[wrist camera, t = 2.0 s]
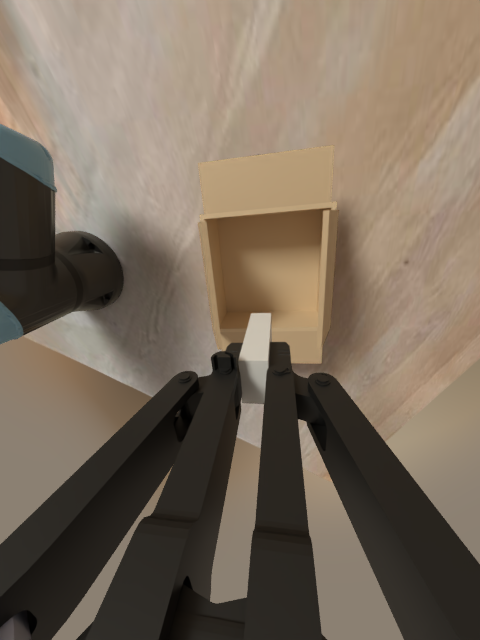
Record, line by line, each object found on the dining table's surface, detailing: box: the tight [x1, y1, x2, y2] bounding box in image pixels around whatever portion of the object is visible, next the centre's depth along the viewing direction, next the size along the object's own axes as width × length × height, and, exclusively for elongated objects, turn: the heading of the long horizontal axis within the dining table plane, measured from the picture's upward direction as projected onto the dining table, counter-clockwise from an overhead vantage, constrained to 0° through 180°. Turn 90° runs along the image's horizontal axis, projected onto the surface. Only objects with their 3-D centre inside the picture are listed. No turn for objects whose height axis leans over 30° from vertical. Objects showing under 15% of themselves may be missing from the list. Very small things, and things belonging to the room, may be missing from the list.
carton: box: [198, 145, 337, 364], centre depth 38 cm, size 18×30×8 cm, turn 5°
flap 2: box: [317, 210, 339, 349], centre depth 30 cm, size 1×16×7 cm, turn 4°
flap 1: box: [198, 221, 222, 349], centre depth 32 cm, size 1×16×7 cm, turn 5°
